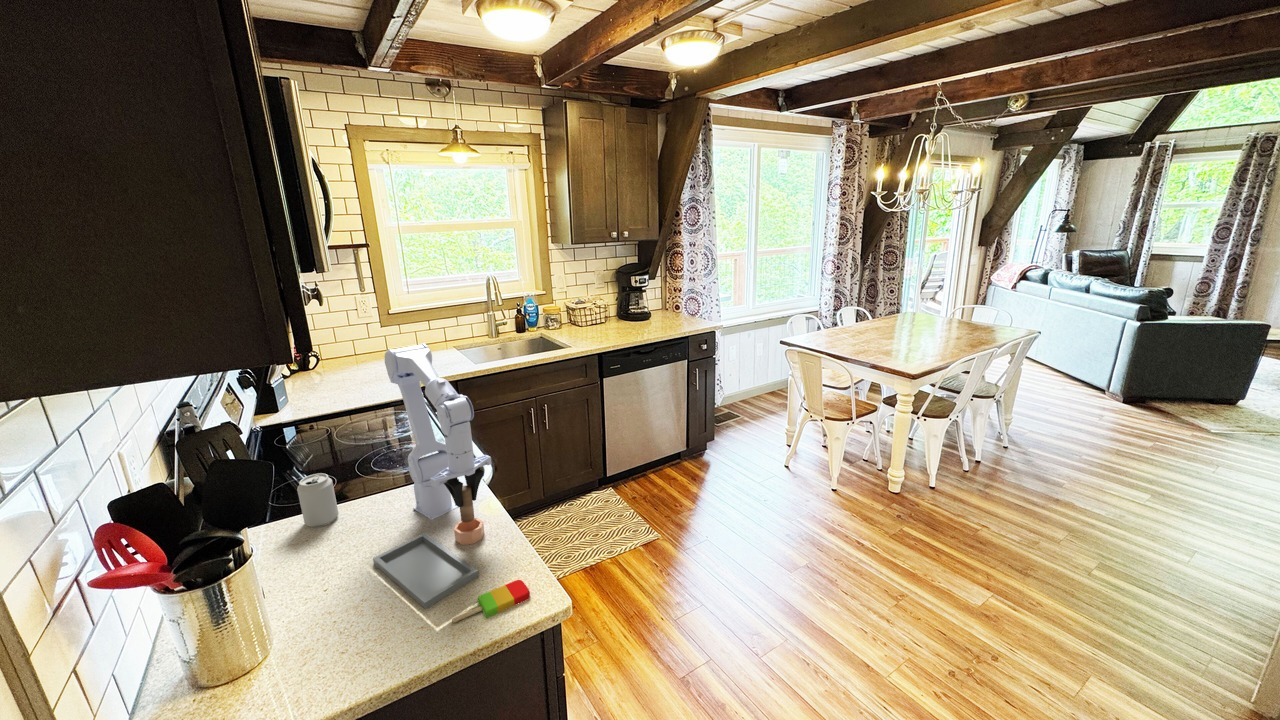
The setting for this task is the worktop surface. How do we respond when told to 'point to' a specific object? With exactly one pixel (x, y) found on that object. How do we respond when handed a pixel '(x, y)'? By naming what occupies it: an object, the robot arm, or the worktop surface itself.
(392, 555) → the tray
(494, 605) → the popsicle
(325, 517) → the can
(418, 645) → the worktop surface
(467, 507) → the pin
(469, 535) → the cup
